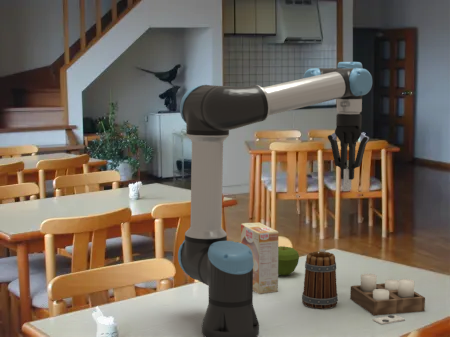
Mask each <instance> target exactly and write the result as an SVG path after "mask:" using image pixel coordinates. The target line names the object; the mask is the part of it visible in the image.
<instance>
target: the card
mask: <svg viewBox="0 0 450 337" xmlns="http://www.w3.org/2000/svg"><path fill="white" fill-rule="evenodd" d="M371 321H373V322H376V323H377V324H378V325H381V326H382V325H386V324H392V323H393V324H394V323H398V322H405V321H406V320H405V318H403V317H401V316H399V315H397V314H388V315H387V316H379V317H375V318H371Z"/></svg>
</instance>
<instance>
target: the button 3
mask: <svg viewBox="0 0 450 337" xmlns="http://www.w3.org/2000/svg"><path fill="white" fill-rule="evenodd" d="M398 280H399V279H392V278H391V279H385V280H384V283H385V289H387V290H398Z"/></svg>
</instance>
